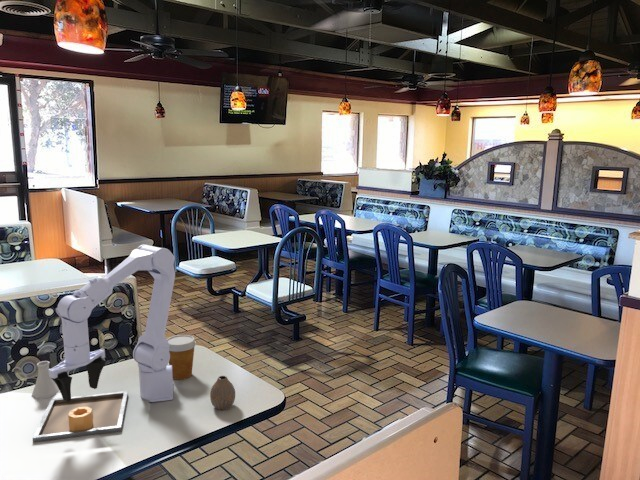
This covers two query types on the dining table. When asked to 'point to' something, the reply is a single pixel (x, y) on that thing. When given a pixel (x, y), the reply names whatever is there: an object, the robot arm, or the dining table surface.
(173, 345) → the disposable coffee cup
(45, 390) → the flask
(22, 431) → the dining table surface
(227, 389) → the vase
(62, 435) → the square tray
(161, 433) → the dining table surface
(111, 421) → the carrier plate
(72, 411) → the gear
